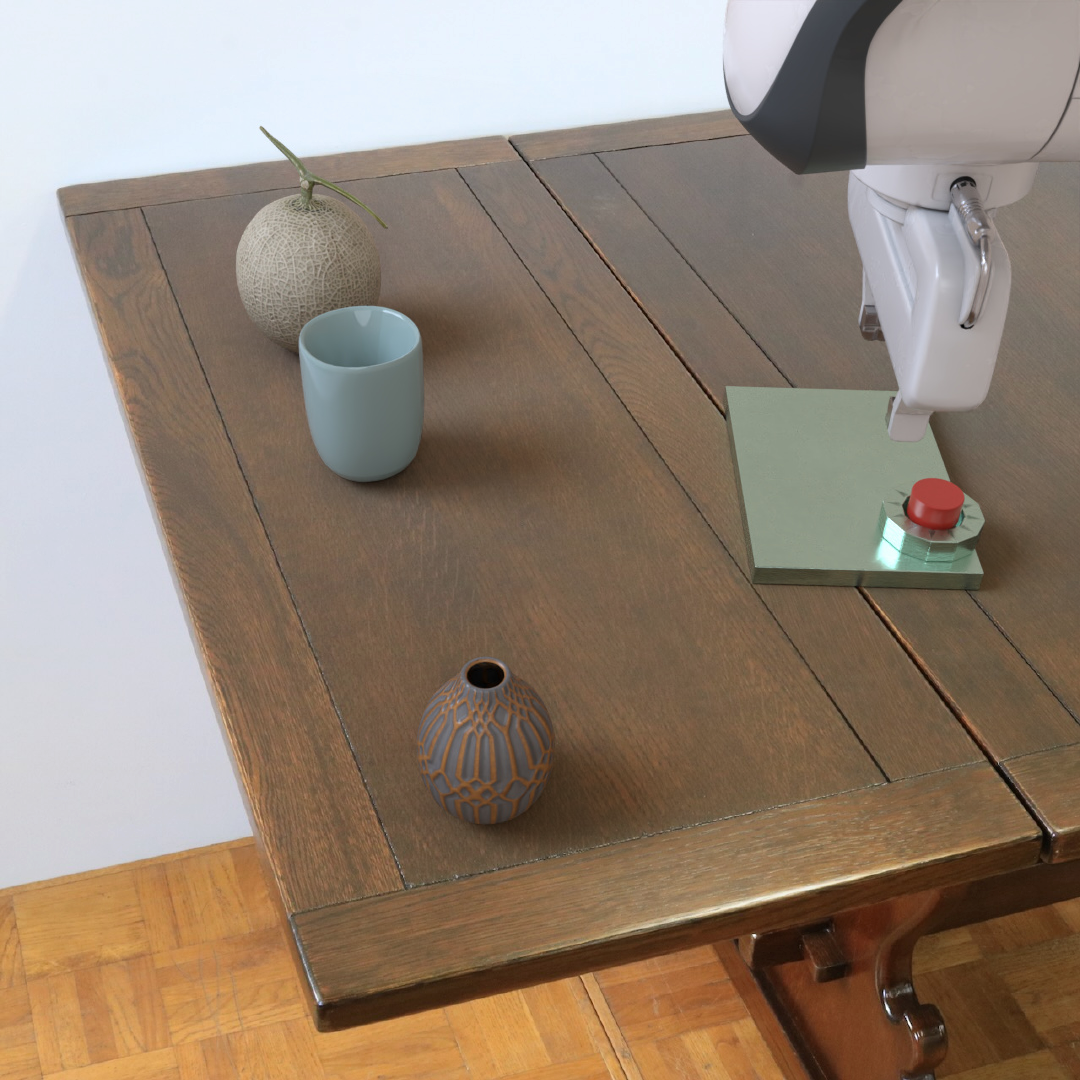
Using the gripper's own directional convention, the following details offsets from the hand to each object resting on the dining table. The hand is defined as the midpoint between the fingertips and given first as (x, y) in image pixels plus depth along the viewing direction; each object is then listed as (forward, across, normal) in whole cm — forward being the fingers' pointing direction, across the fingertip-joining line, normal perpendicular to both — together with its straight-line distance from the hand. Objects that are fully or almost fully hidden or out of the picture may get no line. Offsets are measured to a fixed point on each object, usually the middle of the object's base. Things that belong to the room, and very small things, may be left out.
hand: (887, 381), depth 71 cm
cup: (+16, +11, +30) cm, 36 cm away
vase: (+15, -17, +20) cm, 31 cm away
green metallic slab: (+15, +10, -2) cm, 19 cm away
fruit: (+16, +26, +36) cm, 47 cm away
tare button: (+13, +5, -6) cm, 15 cm away
